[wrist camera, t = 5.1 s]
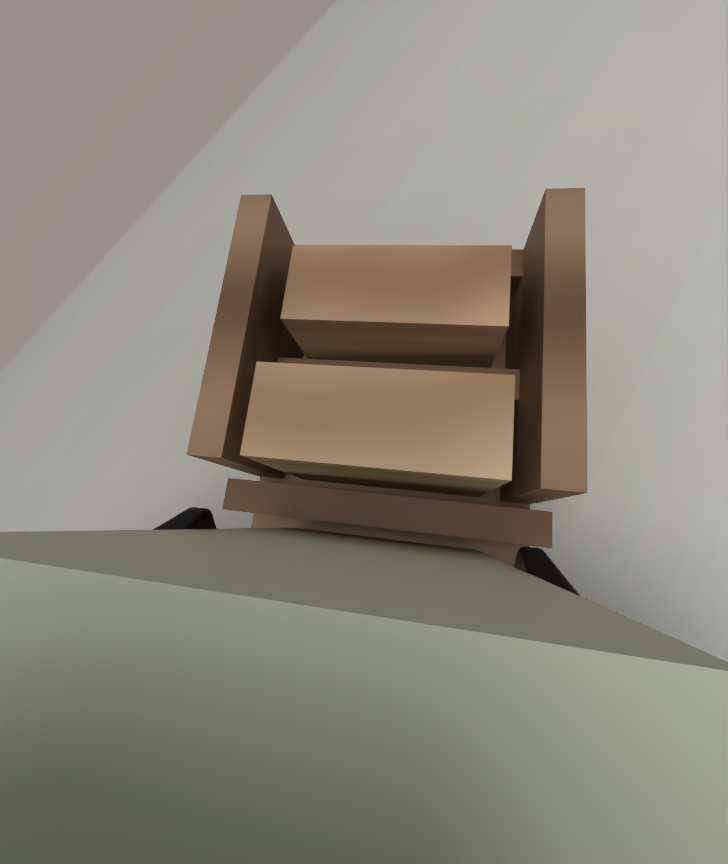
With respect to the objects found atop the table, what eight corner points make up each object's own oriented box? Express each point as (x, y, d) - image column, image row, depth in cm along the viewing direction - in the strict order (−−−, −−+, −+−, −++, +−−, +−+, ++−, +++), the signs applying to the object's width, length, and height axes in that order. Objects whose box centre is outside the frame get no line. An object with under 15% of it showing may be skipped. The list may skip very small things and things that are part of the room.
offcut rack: (517, 699, 13) (589, 831, 8) (241, 650, 15) (128, 728, 9) (528, 300, 17) (584, 180, 11) (299, 295, 18) (242, 188, 12)
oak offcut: (478, 497, 14) (511, 480, 9) (303, 479, 15) (239, 455, 10) (481, 429, 15) (515, 374, 9) (312, 416, 16) (256, 361, 10)
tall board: (471, 627, 13) (815, 1332, 2) (286, 598, 14) (-292, 908, 3) (475, 549, 14) (758, 676, 2) (296, 527, 15) (-151, 533, 3)
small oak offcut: (483, 383, 15) (508, 326, 11) (318, 374, 16) (280, 318, 12) (486, 323, 16) (511, 245, 11) (326, 318, 17) (292, 245, 12)
